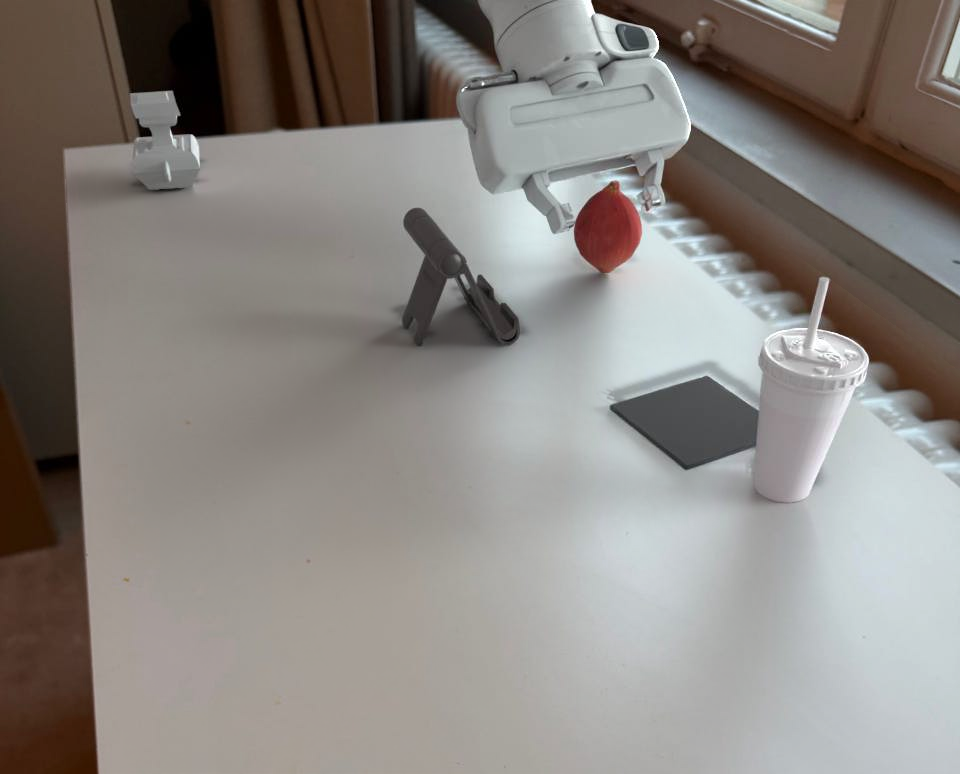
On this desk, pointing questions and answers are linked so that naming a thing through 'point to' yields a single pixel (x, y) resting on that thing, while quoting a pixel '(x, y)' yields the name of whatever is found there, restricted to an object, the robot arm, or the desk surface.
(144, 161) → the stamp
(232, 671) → the desk surface
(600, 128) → the robot arm
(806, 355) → the smoothie
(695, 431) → the coaster
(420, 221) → the tablet stand
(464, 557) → the desk surface
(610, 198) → the onion
